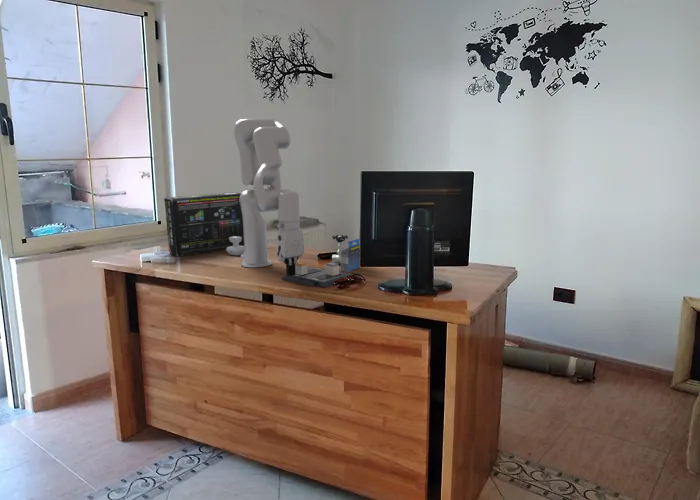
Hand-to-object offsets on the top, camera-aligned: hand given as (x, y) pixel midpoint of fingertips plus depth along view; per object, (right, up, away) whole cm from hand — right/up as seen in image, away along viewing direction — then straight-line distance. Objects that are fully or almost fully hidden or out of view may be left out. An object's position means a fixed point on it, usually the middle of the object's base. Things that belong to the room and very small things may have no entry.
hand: (291, 274), depth 206 cm
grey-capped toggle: (+15, 0, +2) cm, 15 cm away
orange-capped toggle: (+3, 0, +4) cm, 5 cm away
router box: (-47, +9, +63) cm, 79 cm away
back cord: (+16, 0, +11) cm, 20 cm away
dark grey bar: (+3, -3, -1) cm, 4 cm away
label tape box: (+22, +1, +19) cm, 29 cm away
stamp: (-30, +7, +51) cm, 60 cm away
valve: (+18, +3, +29) cm, 34 cm away
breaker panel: (+10, -2, +4) cm, 10 cm away
